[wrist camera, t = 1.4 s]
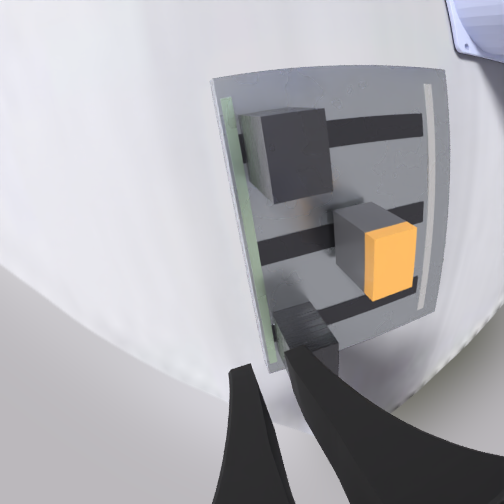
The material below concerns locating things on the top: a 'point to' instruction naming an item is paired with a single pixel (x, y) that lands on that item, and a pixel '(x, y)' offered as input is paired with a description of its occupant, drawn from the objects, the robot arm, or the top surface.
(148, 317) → the top surface
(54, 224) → the top surface
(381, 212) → the toggle
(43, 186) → the top surface
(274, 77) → the panel
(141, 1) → the top surface
